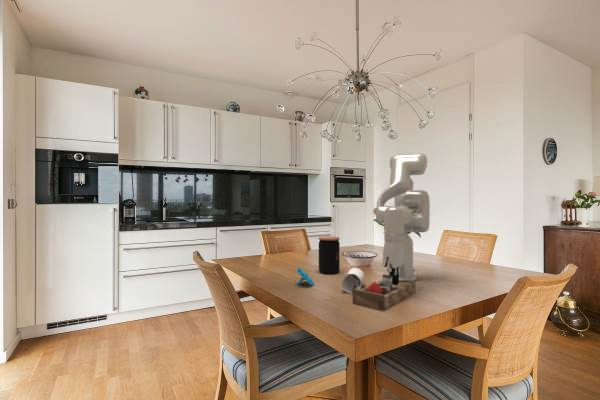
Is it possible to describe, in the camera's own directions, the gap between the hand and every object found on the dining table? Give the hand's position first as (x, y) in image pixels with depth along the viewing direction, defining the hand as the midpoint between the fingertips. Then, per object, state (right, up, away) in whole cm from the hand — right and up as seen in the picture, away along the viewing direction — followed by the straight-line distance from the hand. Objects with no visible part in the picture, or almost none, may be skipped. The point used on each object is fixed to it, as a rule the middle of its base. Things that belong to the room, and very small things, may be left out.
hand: (394, 284), depth 130 cm
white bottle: (-15, -4, +8) cm, 18 cm away
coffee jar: (-23, -4, +38) cm, 44 cm away
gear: (-35, -4, +14) cm, 38 cm away
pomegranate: (-11, -4, -13) cm, 17 cm away
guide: (-5, -4, -6) cm, 9 cm away
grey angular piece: (-4, -3, -5) cm, 8 cm away
